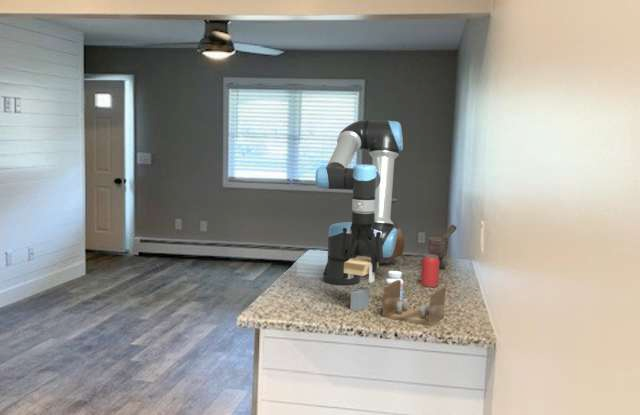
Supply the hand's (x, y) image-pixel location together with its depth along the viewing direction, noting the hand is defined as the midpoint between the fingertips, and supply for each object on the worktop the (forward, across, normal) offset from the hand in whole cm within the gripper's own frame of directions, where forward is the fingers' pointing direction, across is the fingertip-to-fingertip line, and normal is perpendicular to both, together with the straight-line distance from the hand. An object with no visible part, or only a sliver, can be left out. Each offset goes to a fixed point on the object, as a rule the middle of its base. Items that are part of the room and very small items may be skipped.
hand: (361, 279), depth 201 cm
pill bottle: (+10, +8, +10) cm, 16 cm away
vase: (+12, -23, +70) cm, 74 cm away
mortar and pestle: (+12, +2, +80) cm, 81 cm away
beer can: (+11, +9, +44) cm, 46 cm away
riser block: (+9, 0, -1) cm, 9 cm away
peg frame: (+9, +19, -1) cm, 21 cm away
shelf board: (-3, 0, 0) cm, 3 cm away
